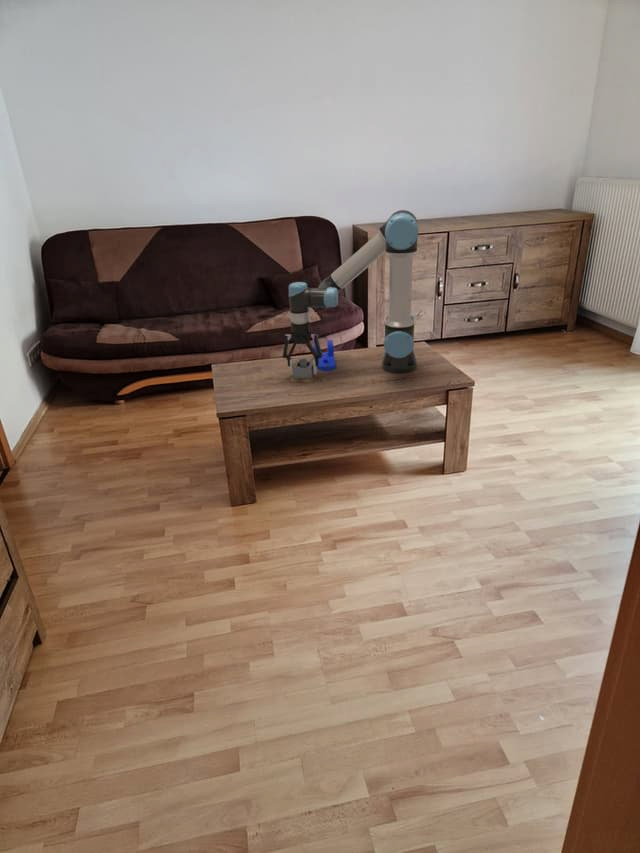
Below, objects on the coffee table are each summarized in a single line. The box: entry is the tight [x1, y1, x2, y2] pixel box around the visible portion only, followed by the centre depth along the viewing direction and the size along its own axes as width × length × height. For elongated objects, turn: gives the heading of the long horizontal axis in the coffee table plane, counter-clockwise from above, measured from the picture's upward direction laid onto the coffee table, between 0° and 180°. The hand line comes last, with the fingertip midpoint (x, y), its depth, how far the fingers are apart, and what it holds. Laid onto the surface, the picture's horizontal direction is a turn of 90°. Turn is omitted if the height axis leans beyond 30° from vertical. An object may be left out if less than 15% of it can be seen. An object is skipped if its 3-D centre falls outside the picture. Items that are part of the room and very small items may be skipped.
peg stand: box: [290, 358, 318, 384], centre depth 239 cm, size 10×10×8 cm
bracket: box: [313, 339, 337, 372], centre depth 253 cm, size 18×8×9 cm, turn 6°
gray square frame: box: [292, 360, 314, 379], centre depth 239 cm, size 8×8×5 cm
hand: (303, 373), depth 240 cm, fingers open, 9 cm apart
